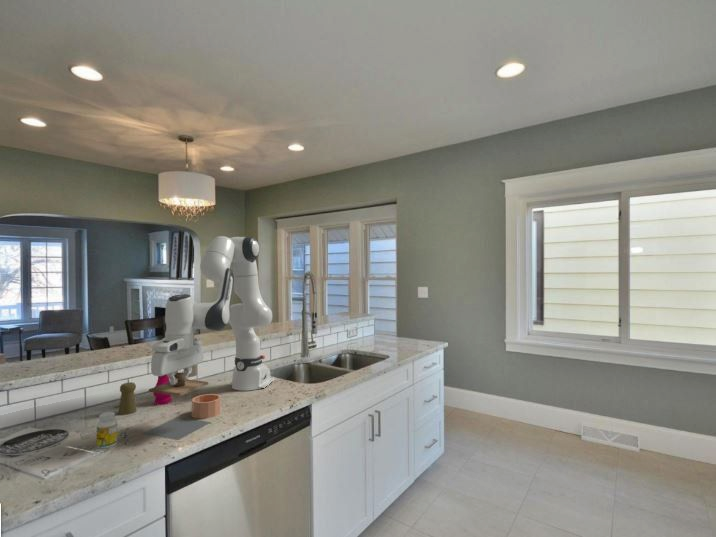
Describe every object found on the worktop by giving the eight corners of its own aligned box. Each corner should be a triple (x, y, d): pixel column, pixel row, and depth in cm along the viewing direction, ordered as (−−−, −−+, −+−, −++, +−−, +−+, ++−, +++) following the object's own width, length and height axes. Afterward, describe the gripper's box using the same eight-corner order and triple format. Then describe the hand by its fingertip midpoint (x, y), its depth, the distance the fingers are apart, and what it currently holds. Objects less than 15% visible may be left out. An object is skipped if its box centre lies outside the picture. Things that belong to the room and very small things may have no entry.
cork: (127, 415, 139) (128, 386, 139) (114, 414, 140) (114, 384, 140) (140, 409, 145) (140, 381, 145) (127, 408, 146) (127, 380, 146)
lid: (178, 380, 136) (178, 367, 136) (208, 384, 132) (208, 370, 132) (148, 391, 124) (148, 377, 124) (180, 395, 120) (180, 380, 120)
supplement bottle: (121, 443, 116) (121, 412, 116) (104, 450, 111) (104, 418, 111) (109, 440, 118) (109, 410, 118) (92, 447, 113) (92, 415, 113)
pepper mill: (150, 402, 153) (151, 353, 154) (168, 398, 159) (169, 351, 159) (156, 406, 148) (157, 356, 149) (175, 402, 154) (176, 353, 154)
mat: (177, 418, 137) (177, 416, 137) (210, 423, 132) (210, 422, 132) (142, 434, 123) (142, 433, 123) (178, 441, 118) (178, 439, 118)
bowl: (204, 408, 147) (205, 392, 147) (226, 411, 144) (226, 395, 144) (185, 417, 137) (186, 401, 138) (208, 420, 134) (208, 404, 134)
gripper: (194, 336, 139) (193, 373, 139) (147, 347, 119) (147, 390, 119) (208, 337, 137) (207, 374, 137) (163, 348, 117) (162, 392, 117)
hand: (179, 382), depth 128 cm, fingers closed on lid, 3 cm apart
